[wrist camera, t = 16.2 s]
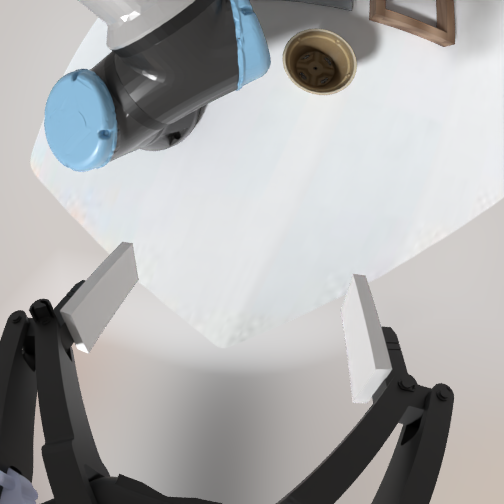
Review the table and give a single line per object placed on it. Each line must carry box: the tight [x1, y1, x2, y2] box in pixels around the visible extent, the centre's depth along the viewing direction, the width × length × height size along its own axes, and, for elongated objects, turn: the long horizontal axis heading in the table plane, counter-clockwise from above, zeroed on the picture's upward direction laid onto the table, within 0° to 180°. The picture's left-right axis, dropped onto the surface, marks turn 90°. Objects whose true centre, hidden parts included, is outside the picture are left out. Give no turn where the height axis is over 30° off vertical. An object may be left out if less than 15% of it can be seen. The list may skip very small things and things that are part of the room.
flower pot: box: [283, 29, 357, 95], centre depth 32 cm, size 9×9×9 cm
